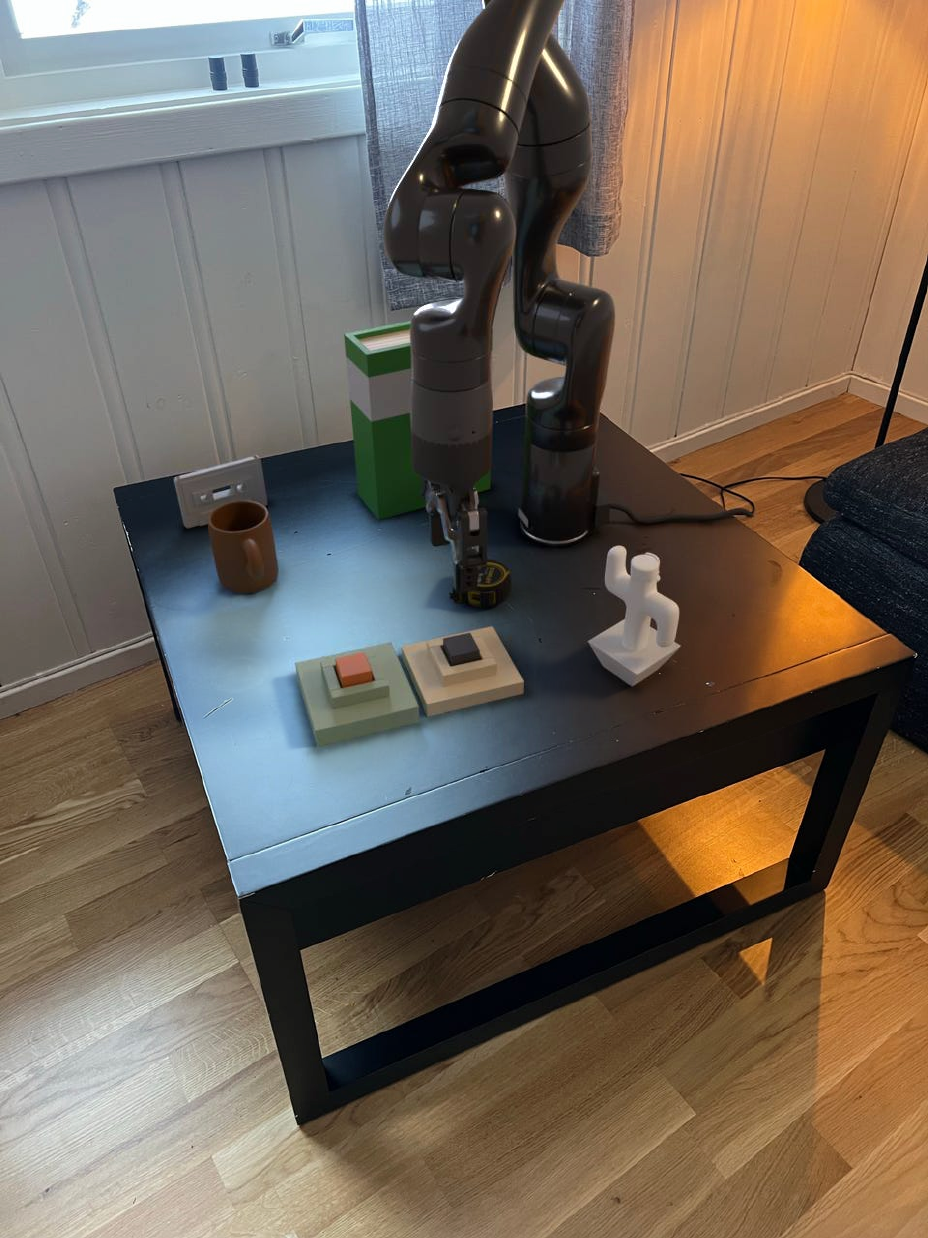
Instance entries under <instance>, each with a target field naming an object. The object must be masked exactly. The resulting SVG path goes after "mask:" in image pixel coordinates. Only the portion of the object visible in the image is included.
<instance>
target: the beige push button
mask: <svg viewBox="0 0 928 1238" xmlns="http://www.w3.org/2000/svg"><path fill="white" fill-rule="evenodd" d="M466 633H471V635H472V637H473V639H474V641H475V643H476V644H477V646H478V648H479V650H480V660H478V661H474V662H470V663H465V664H461V665H457V666H451V664H450V662H449V660H448V658H447V656H446V654H445V652H444V650H443V638H448V637H452V636H457V635H461V634H466ZM400 648H401V659H402V662H403V664H404V666H405V668H406V671H407V673H408V675H409V678H410V680H411V682H412V685H413V687H414V690H415V691H416V695H417V696H418V699H419V701H420V703H421V705H422V708H423V710H424V713H425V714H426V717H431V716H436V715H441V714H444V713H449V712H453V711H456V710H461V709H464V708H470V707H473V706H477V705H481V704H486V703H490V702H494V701H498V700H502V699H506V698H510V697H515V696H519V695H523V694H524V687H525V681H524V678H523V677H522V676H521V674H520V672H519V671H518V668H517V667H516V665H515V663H514V661H513V660H512V657H511V656H510V654H509V653H508V650H507V649H506V647H505V646H504V644H503V642H502V641H501V639H500V637H499V635H498V633H497V631H496V629H495V628H494V626H493V625H491V626H486V627H481V628H477V629H472V630H468V631H464V632H460V633H455V634H450V635H445V636H441V637H437V638H432V639H427V640H422V641H418V642H413V643H409V644H404V645H401V646H400Z"/></svg>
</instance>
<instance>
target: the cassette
mask: <svg viewBox="0 0 928 1238" xmlns="http://www.w3.org/2000/svg"><path fill="white" fill-rule="evenodd" d="M173 483H174V488H175V492H176V496H177V501H178V505H179V506H178V507H179V510H180V514H181V518H182V524H183V526H184V527H185V528H186V529H191V528H194V527H198V526H199V527H202V526H203V527H204V526H206V525H208V521H207V520H208V516H209V514H210V513H211V512H212V511H213V510H214V509H215V508H217V507H218V506H220V505H223V504H225V503H228V502H233V501H241V500H247V501H254V502H257V503H260V504H262V505H263V506H265V507H266V506H267V505H268V497H267V492H266V491H267V490H266V486H265V485H266V484H265V479H264V473H263V466H262V461H261V458H260V457H259V455H253V456H248V457H245V458H241V459H237V460H234V461H230V462H227V463H222V464H219V465H215V466H211V467H208V468H207V467H206V468H204V469H199V470H197V471H193V472H189V473H185V474H181V475H177V476H174V478H173ZM229 486H230V488H229V489H225V490H222V491H218V492H215V493H213V491H214V490H215V491H216V490H218V489H222V488H226V487H229Z"/></svg>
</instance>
